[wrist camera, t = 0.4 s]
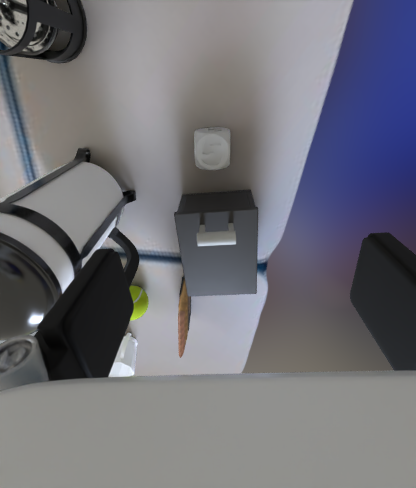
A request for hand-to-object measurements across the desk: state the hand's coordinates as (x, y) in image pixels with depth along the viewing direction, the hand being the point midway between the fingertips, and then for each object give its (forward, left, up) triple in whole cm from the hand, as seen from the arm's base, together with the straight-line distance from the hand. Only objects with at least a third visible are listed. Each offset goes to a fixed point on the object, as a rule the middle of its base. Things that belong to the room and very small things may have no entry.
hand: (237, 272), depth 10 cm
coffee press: (+9, -22, -35) cm, 42 cm away
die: (+2, -2, -35) cm, 35 cm away
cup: (+46, -26, -35) cm, 63 cm away
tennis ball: (+31, -21, -35) cm, 51 cm away
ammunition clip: (+33, -10, -35) cm, 49 cm away
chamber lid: (+17, -2, -26) cm, 31 cm away
